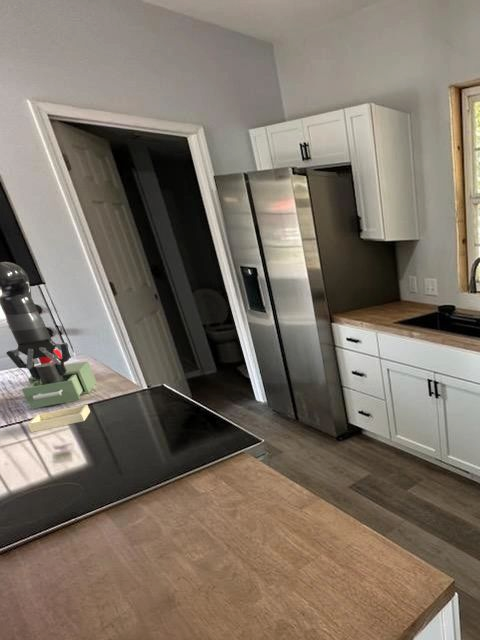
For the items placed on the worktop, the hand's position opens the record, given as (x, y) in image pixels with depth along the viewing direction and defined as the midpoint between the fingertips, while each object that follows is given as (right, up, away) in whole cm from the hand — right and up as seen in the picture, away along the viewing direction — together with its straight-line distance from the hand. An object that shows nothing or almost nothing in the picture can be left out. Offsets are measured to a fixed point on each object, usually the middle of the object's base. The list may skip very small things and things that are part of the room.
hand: (50, 376), depth 138 cm
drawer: (+2, -8, +1) cm, 8 cm away
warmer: (-6, -5, +12) cm, 14 cm away
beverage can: (-26, -1, +27) cm, 38 cm away
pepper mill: (0, -6, +2) cm, 7 cm away
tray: (+19, -14, -14) cm, 27 cm away
